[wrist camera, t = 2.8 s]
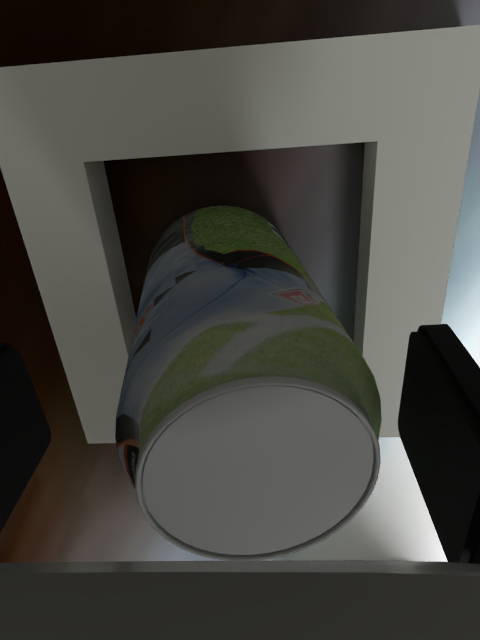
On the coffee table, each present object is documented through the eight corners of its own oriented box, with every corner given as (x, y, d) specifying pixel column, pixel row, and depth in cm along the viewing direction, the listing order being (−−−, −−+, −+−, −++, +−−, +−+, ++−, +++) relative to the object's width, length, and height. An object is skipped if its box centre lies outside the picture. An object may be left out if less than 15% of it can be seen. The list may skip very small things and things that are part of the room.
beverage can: (134, 219, 18) (-42, 410, 8) (310, 172, 17) (388, 320, 6) (183, 345, 21) (104, 610, 10) (337, 311, 20) (422, 574, 9)
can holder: (409, 408, 22) (422, 436, 20) (101, 416, 23) (87, 443, 22) (462, 31, 15) (490, 24, 13) (2, 71, 16) (-31, 69, 14)
